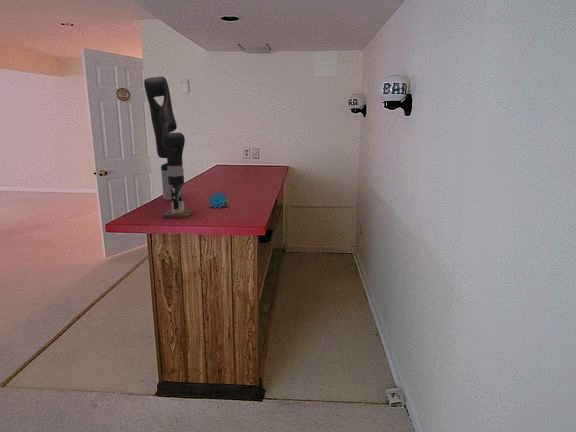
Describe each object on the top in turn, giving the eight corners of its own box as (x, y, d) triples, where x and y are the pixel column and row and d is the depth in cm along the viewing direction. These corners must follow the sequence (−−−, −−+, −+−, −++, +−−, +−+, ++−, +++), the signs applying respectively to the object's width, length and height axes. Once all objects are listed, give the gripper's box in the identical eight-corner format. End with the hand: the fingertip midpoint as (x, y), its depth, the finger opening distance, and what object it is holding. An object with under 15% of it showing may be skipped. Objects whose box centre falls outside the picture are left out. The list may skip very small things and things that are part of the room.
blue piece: (205, 205, 217) (211, 190, 222) (207, 211, 222) (213, 196, 227) (225, 209, 215) (230, 193, 220) (227, 214, 221) (232, 199, 225)
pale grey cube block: (174, 211, 205) (173, 201, 204) (184, 211, 205) (183, 201, 204) (171, 213, 200) (171, 203, 199) (182, 213, 200) (181, 203, 199)
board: (168, 212, 208) (168, 203, 207) (192, 212, 209) (192, 203, 208) (163, 218, 197) (162, 208, 195) (188, 217, 197) (188, 208, 196)
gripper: (170, 172, 205) (173, 204, 208) (164, 176, 191) (167, 210, 195) (186, 172, 205) (188, 204, 209) (180, 176, 191) (183, 210, 195)
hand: (177, 207), depth 202 cm, fingers open, 8 cm apart
